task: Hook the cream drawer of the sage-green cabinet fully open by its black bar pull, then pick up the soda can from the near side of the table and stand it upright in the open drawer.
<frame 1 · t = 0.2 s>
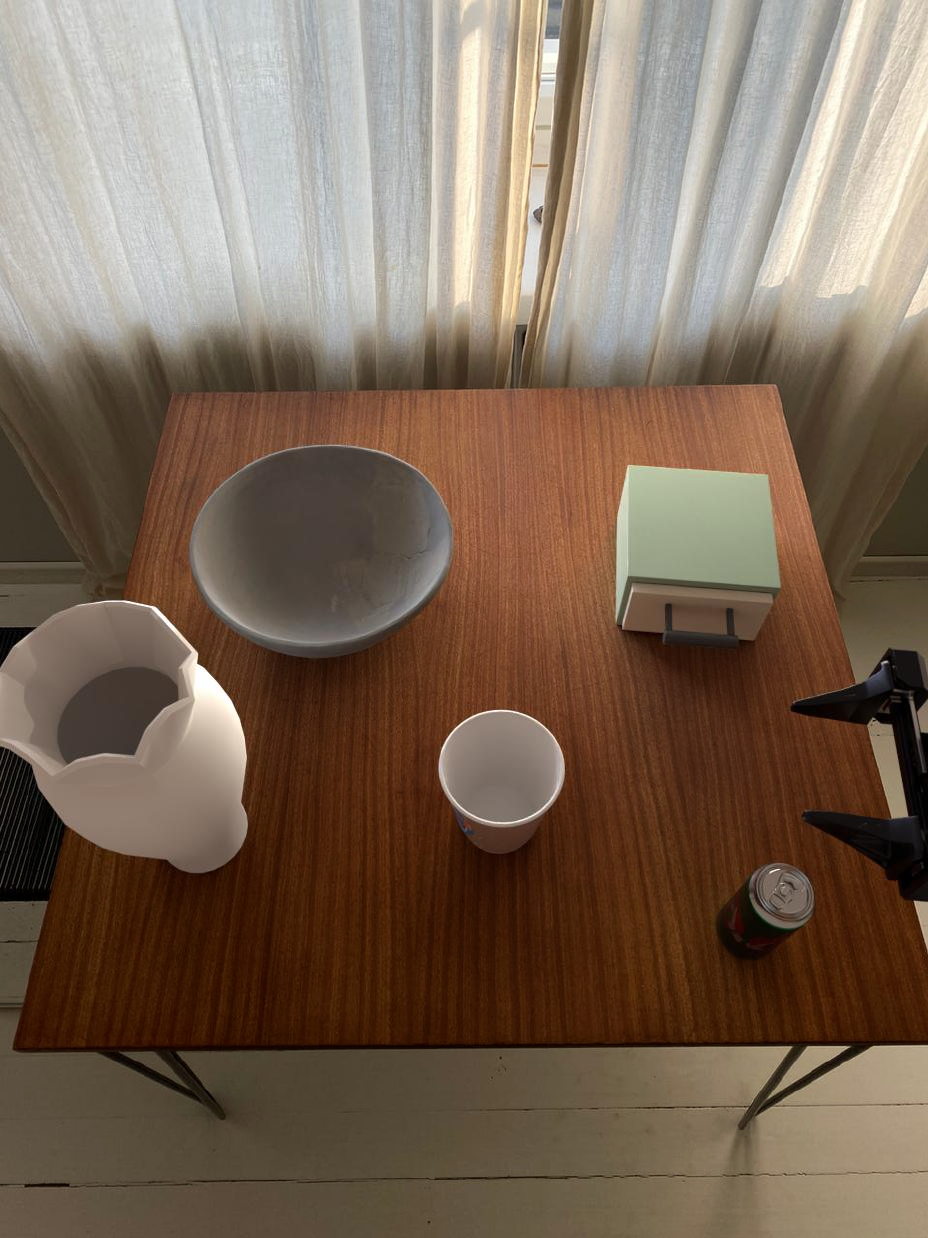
hand: (797, 758, 67), 16 cm above the table, tool horizontal, fingers open, 9 cm apart
soda can: (743, 931, 76), on the table
coffee cup: (498, 818, 81), on the table
vase: (205, 831, 81), on the table
cabinet: (683, 574, 96), on the table
drawer: (693, 580, 90), point 4 cm above the table, slide at 0.0 cm, touching cabinet
bowl: (335, 591, 96), on the table
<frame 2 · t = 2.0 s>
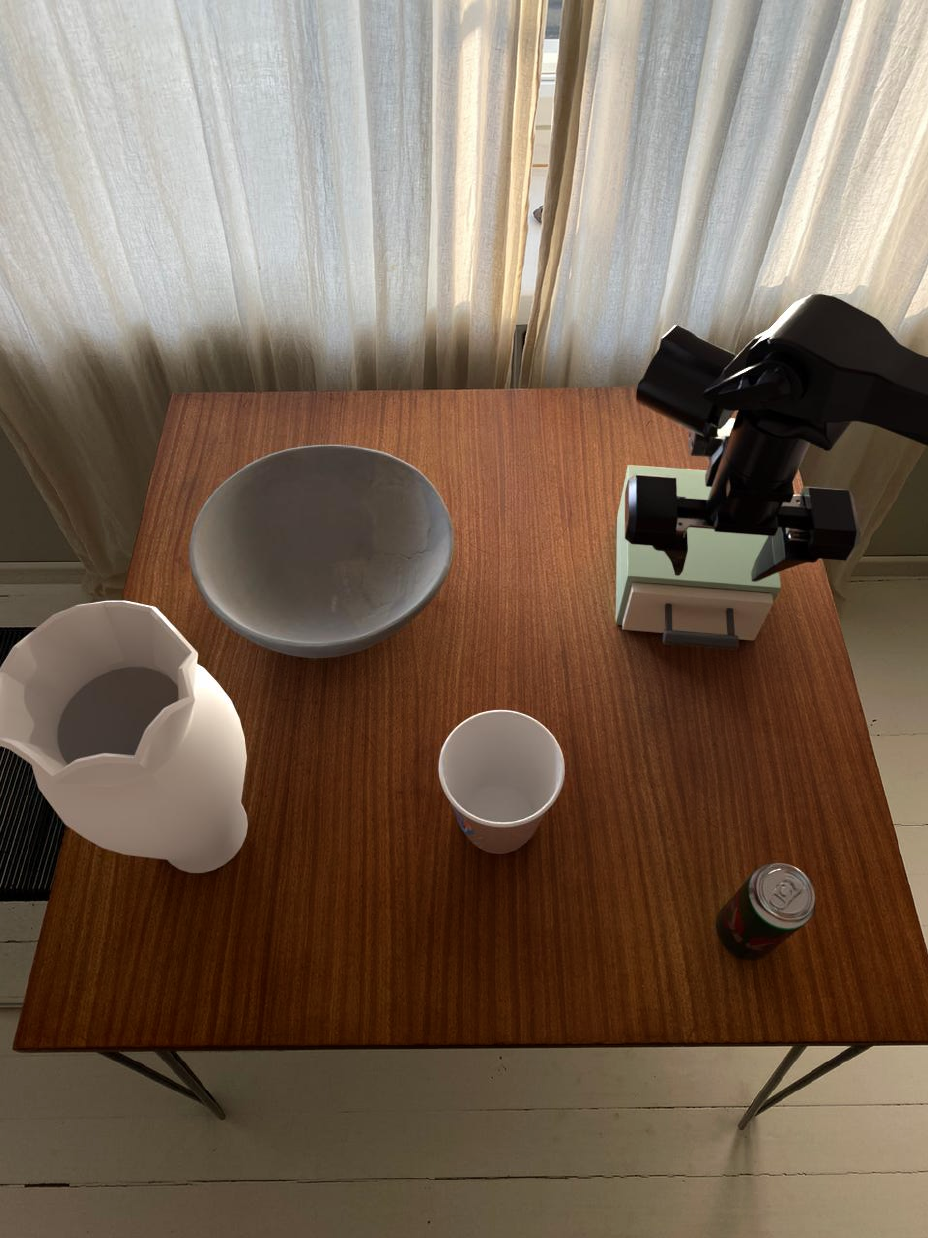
hand: (715, 574, 80), 13 cm above the table, tool pointing down, fingers open, 7 cm apart
nothing on the table moved.
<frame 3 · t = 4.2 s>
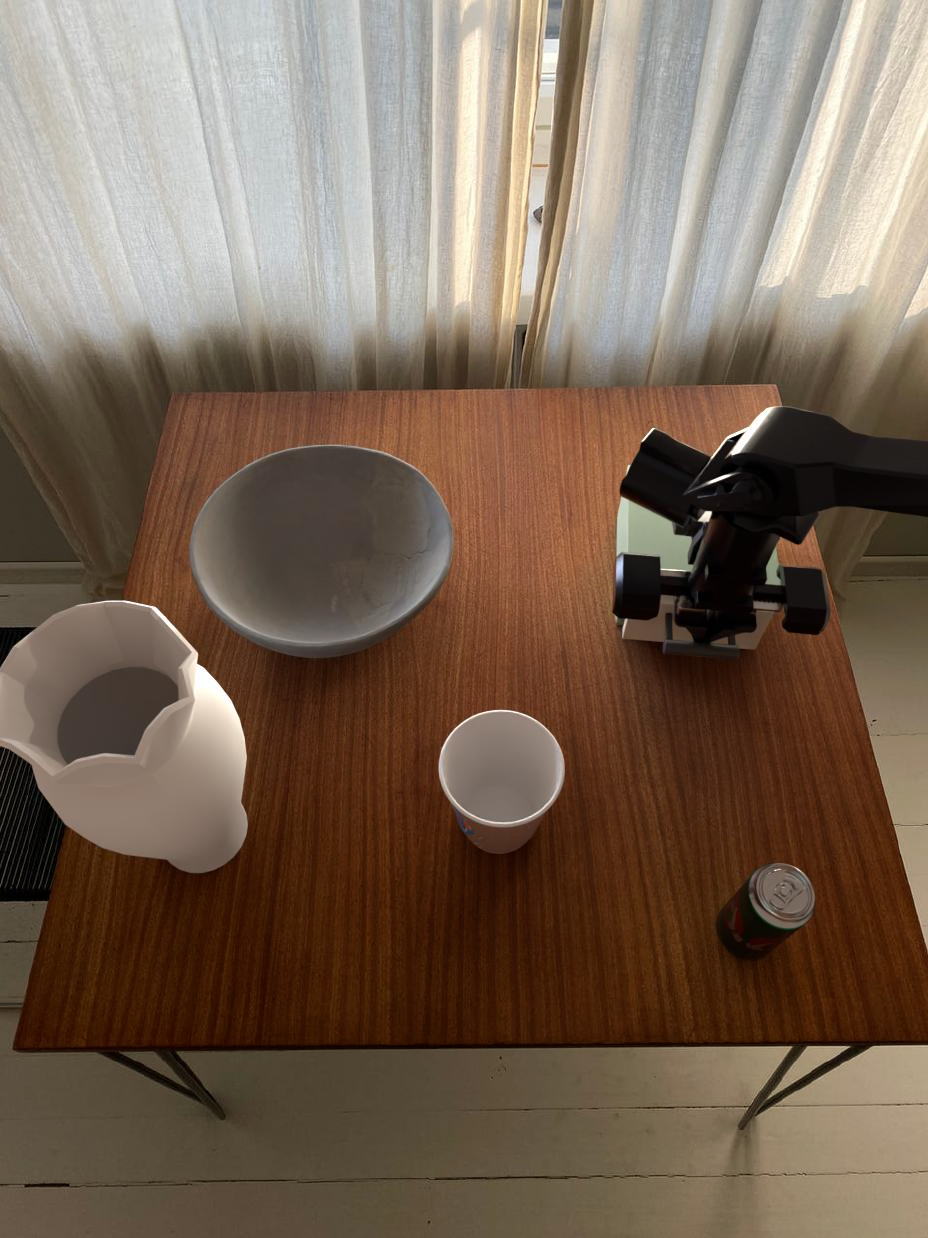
hand: (698, 640, 86), 5 cm above the table, tool pointing down, fingers closed, pressing on drawer
drawer: (693, 589, 90), point 4 cm above the table, slide at 1.1 cm, touching gripper
everything else where it was.
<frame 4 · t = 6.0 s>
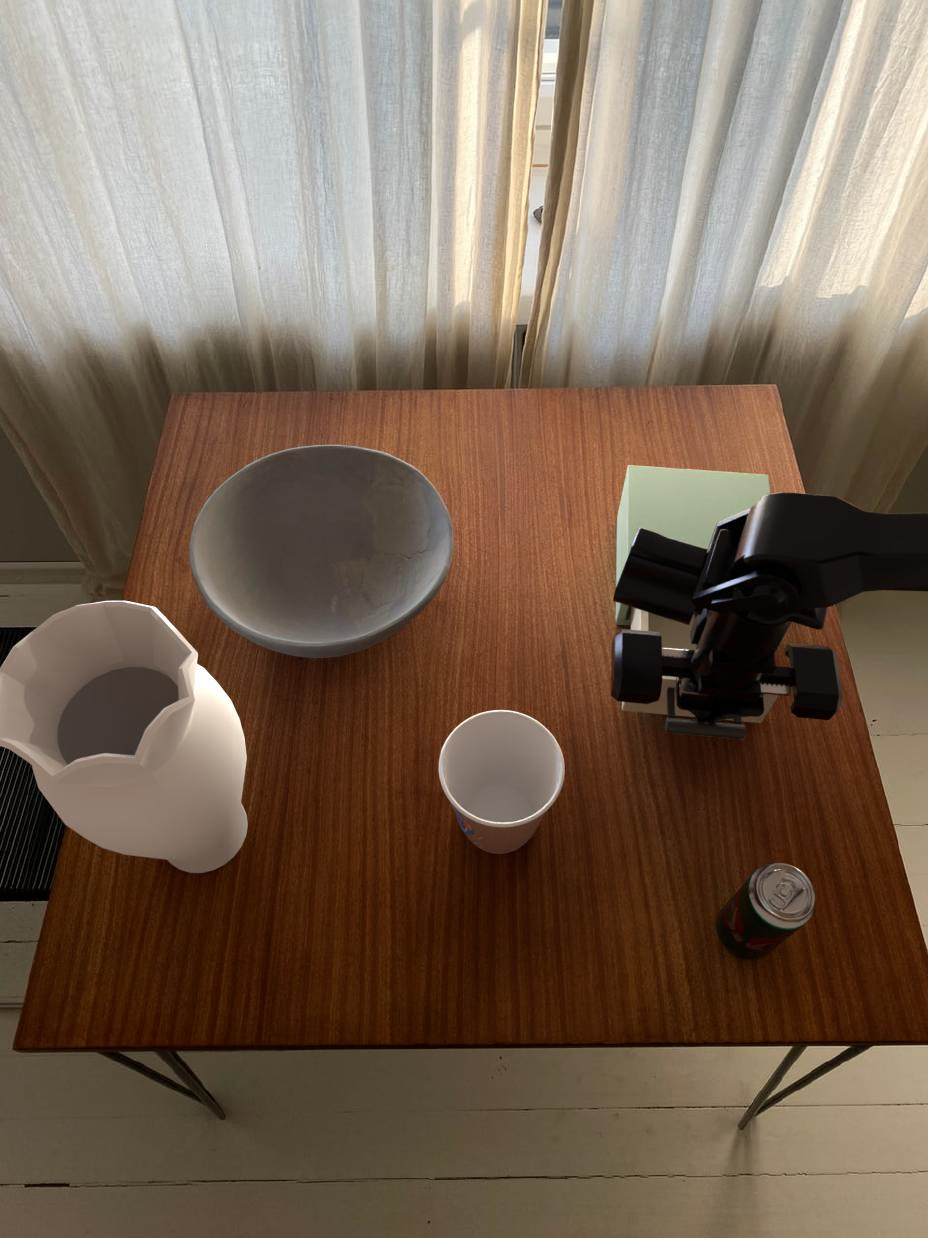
hand: (701, 717, 81), 5 cm above the table, tool pointing down, fingers closed, pressing on drawer
drawer: (696, 659, 85), point 4 cm above the table, slide at 9.6 cm, touching gripper
everything else where it was.
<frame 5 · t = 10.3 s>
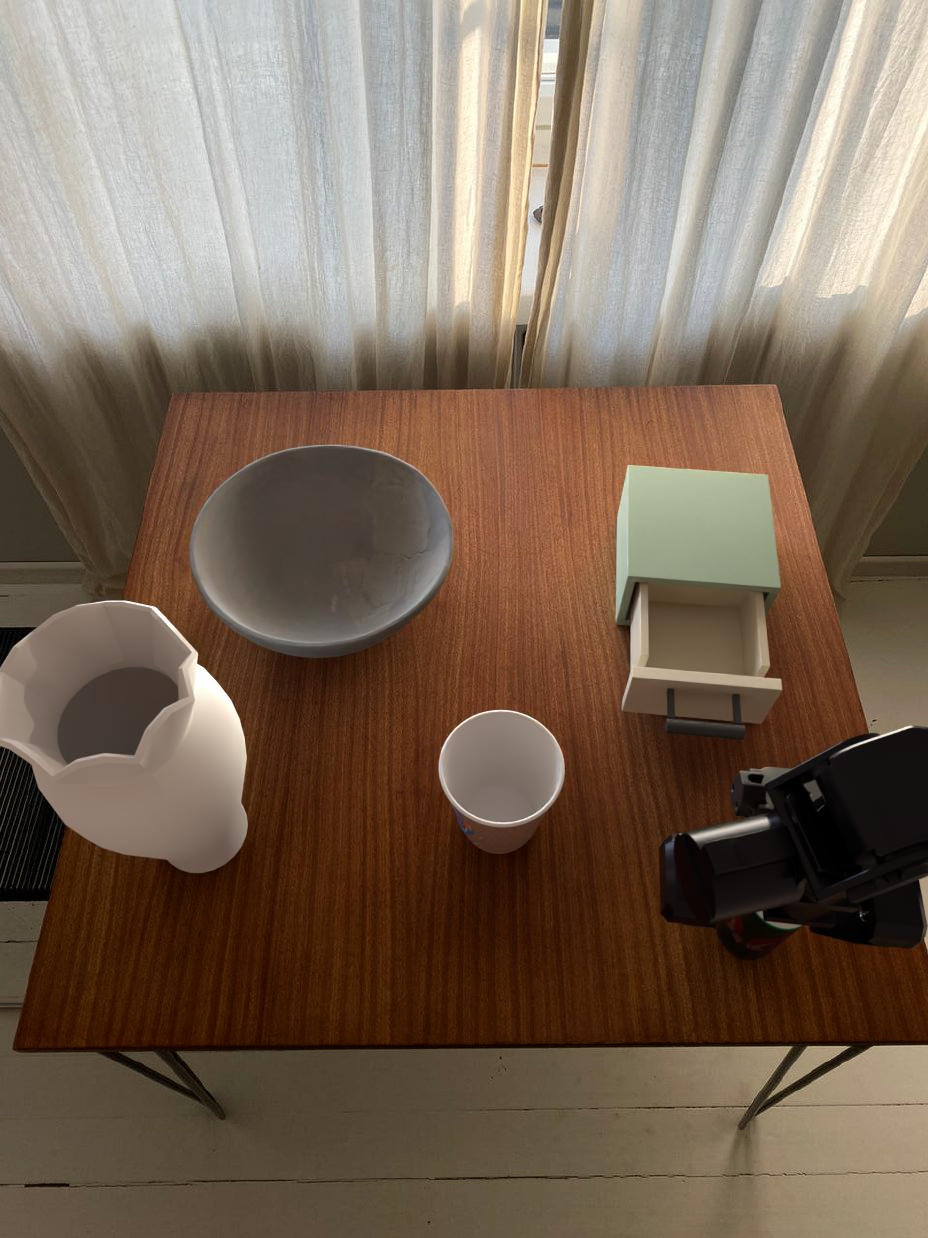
hand: (755, 919, 72), 4 cm above the table, tool pointing down
soda can: (743, 932, 76), on the table, touching gripper
drawer: (697, 660, 85), point 4 cm above the table, slide at 9.6 cm
everything else where it was.
when the fingers open (7 cm above the table, at t = 17.5 s): soda can stays where it is, resting on drawer.
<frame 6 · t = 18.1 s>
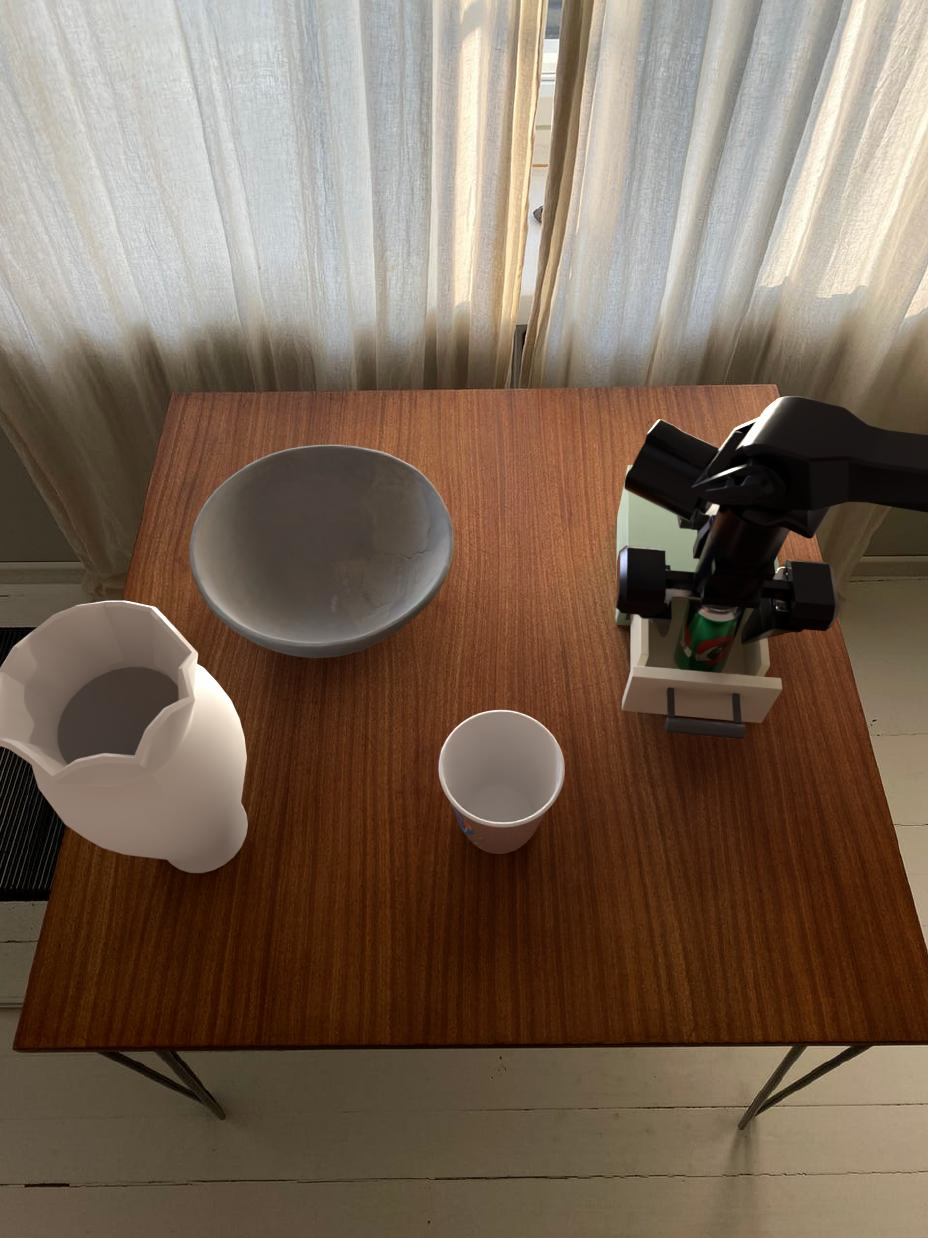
hand: (702, 636, 84), 7 cm above the table, tool pointing down, fingers open, 7 cm apart
soda can: (698, 661, 88), point 2 cm above the table, touching drawer, gripper
drawer: (696, 659, 85), point 4 cm above the table, slide at 9.6 cm, touching soda can
everything else where it was.
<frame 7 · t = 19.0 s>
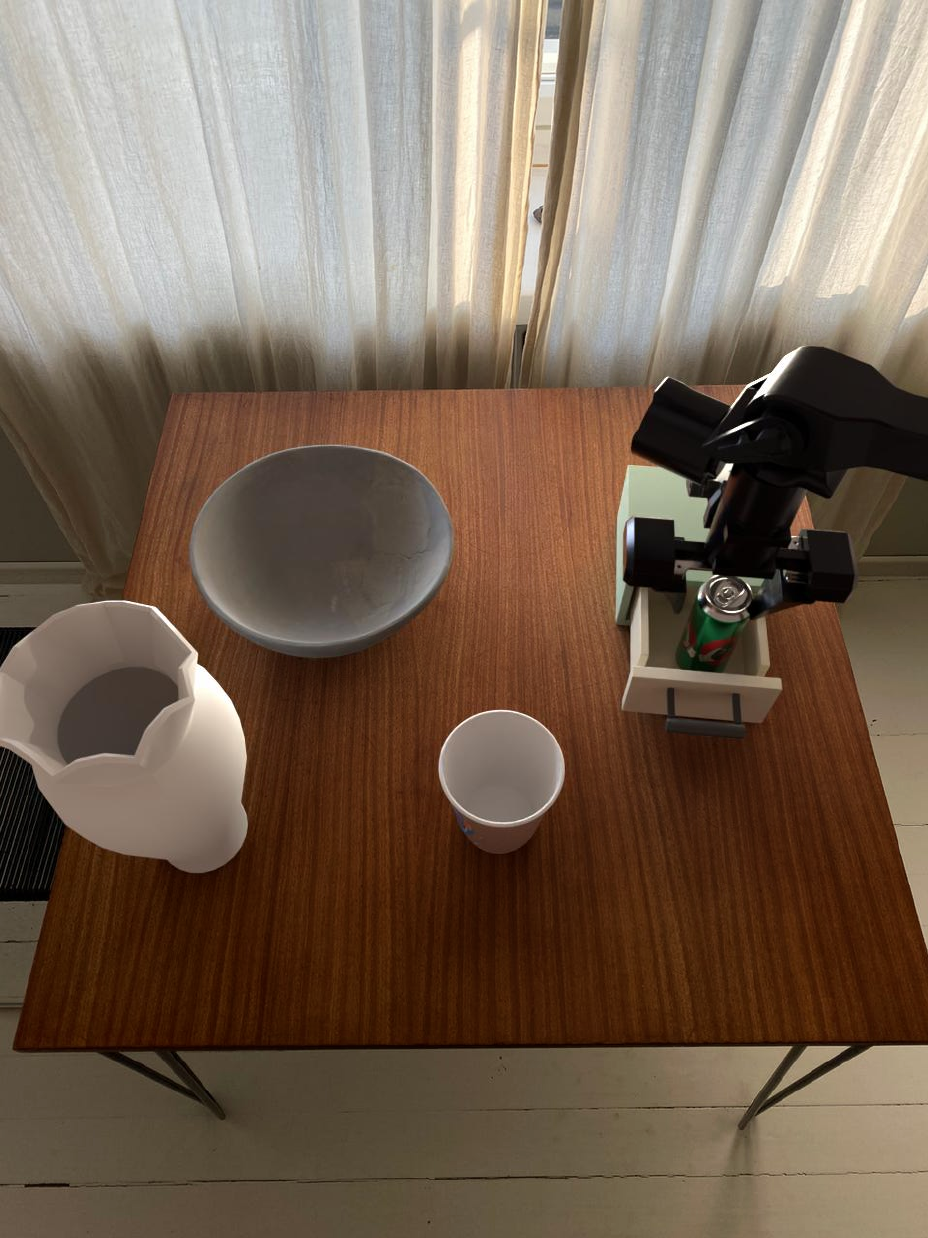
hand: (713, 612, 80), 11 cm above the table, tool pointing down, fingers open, 6 cm apart
soda can: (699, 662, 88), point 2 cm above the table, touching drawer
everything else where it was.
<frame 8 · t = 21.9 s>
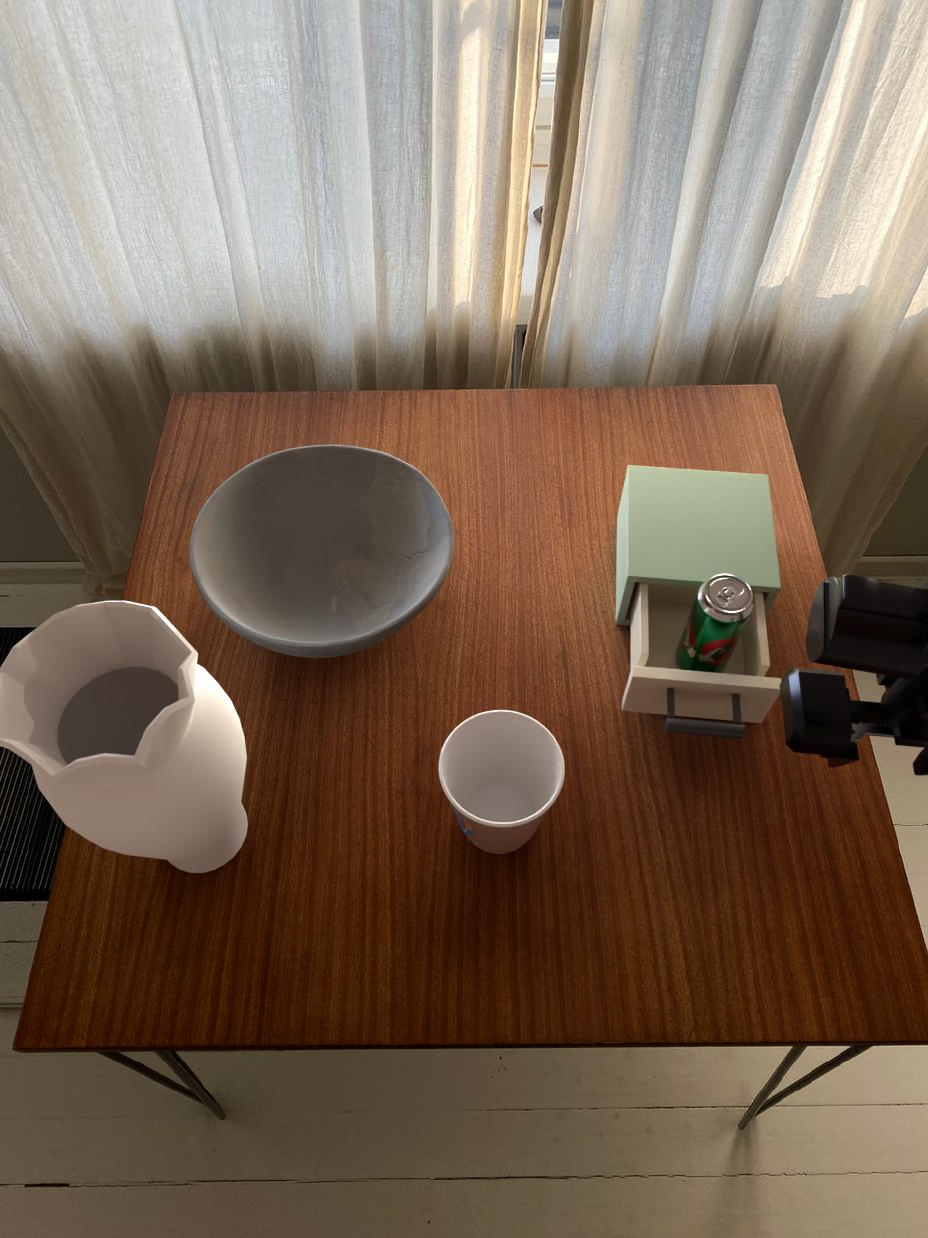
hand: (872, 765, 71), 12 cm above the table, tool pointing down, fingers open, 6 cm apart
nothing on the table moved.
at the end: drawer slide at 9.6 cm; soda can inside the target area in the drawer (0.8 cm from its centre), point 1.9 cm above the cabinet's base; soda can tilted 0° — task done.
